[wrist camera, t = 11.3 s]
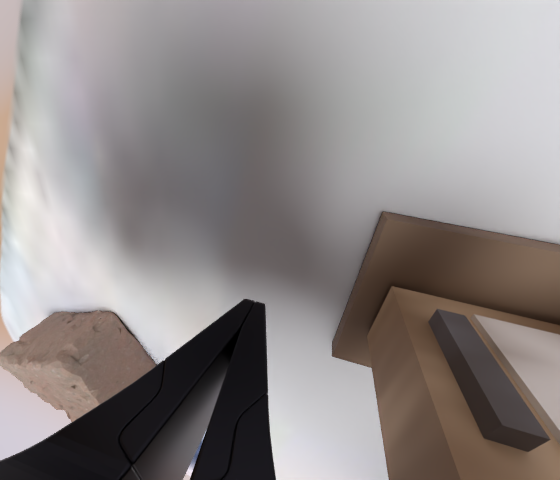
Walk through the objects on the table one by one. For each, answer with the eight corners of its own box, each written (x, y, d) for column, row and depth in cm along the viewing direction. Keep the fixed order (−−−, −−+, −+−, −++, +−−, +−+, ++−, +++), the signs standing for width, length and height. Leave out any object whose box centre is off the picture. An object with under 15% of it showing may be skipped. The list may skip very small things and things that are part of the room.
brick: (51, 311, 18) (-28, 363, 14) (118, 305, 16) (44, 368, 12) (151, 416, 25) (115, 472, 21) (210, 425, 22) (183, 491, 18)
